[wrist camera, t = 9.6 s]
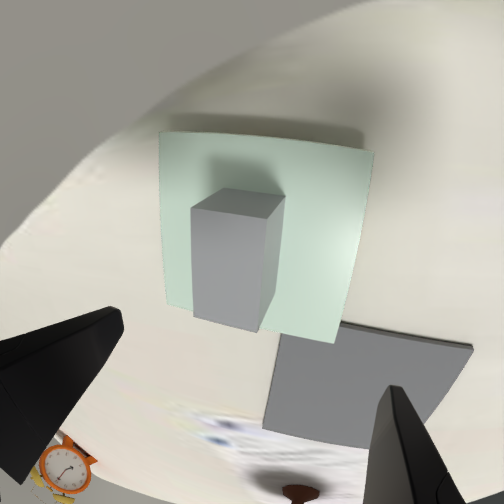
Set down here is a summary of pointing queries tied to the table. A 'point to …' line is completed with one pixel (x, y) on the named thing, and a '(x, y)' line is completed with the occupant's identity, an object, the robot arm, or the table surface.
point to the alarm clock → (64, 470)
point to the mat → (356, 381)
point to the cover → (261, 229)
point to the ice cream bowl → (300, 493)
